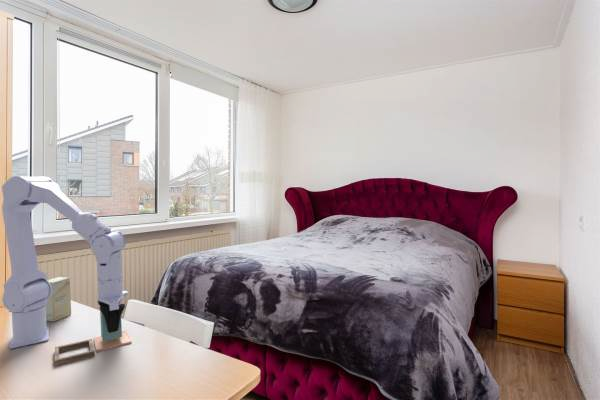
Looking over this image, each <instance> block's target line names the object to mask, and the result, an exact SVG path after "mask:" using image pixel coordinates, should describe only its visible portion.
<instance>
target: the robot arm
mask: <svg viewBox="0 0 600 400" xmlns="http://www.w3.org/2000/svg"><path fill="white" fill-rule="evenodd" d="M1 192H2V197H3V198H2V199H3V201H2V205H1V210H2V218H3V223H4V229H5V230H4V231H5V237H6V242H7V243H6V244H7V250H8V255H9V261H10V269H11V275H10V276H9V278H8V279H7V280H6V281H5V282H4V284H3V294H2V297H1V298H2V299H1V301H2V305H3V306H4V307H5V309H6V310H8V313H11V325H12V326H11V327H12V337H11V340H10V345H9V349H16V348H20V347H21V348H22V347H25V346H29V345H34V344H38V343H43V342H48V341H49V336H50V327H49V326H47V321H46V305H45V303H47V298H48V297H49V296H50V295H51V293H52V287H51V284H50V283H49V281H48V280H49V279H48V277H47V273H46V272H45V271H43V270H41V269H39V265H38V258H37V252H36V246H35V238H34V232H33V227H32V219H31V212H32V210H33V209H34V208H36V207H37V205H40V204H47V205H49V206H50V207H51V208H52V209H54V210H55V211H57V212H58V213H59V214H61V215H62V216H63V217H65V218H67V220H69V221H70V222H71V229H72V230H73V231H74V232H75V233H77V234H78V235H79V236H81V237H82V238H83V239H84V240H85V241H86V242H88V243H89V244H90V251H91V252H92V253H93V255H94V256H95V262H96V270H97V271H96V273H97V274H96V275H97V294H98V295H97V297H96V298H97V303H98V305H99V312H100V311H101V312H102V314H103V315H104V317H105V321H106V325H107V329H108V332H109V333H111V332H116V331H118V328H119V322H120V317H121V318H122V314H123V311H124V310H125V307H126V305H125V303H121V301H122V299H123V298H124V296H128V295H129V291H127V290H123V286H124V285H123V262H122V261H123V258H122V256H123V255H122V250H123V249H124V248H125V247H126V242H127V241H126V238H125V236H124V235H123V233H122V232H121V231H118V230H112V228H111V227H110V226H106V224H105V223H103V222H102V221H101V220H100V219H98V217H99V216H98V215H97V214H96V213H91V212H83V211H82V210H81V209H80V208H79V207H78V206H77V205H76V204H75V203H74V202H73V201H72V200H71V199H70V198H69V197H68V196H67V195H66V194H65V193H64V192H62V190H61V189H60V185H59V184H58V183H56V182H54V181H53V179H52V178H50V177H48V176H44V175H41V176H21V175H14V176H11V177H9V178H8V179H7V180H5V182H4V183H3V184H2V186H1ZM120 303H121V304H120Z"/></svg>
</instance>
